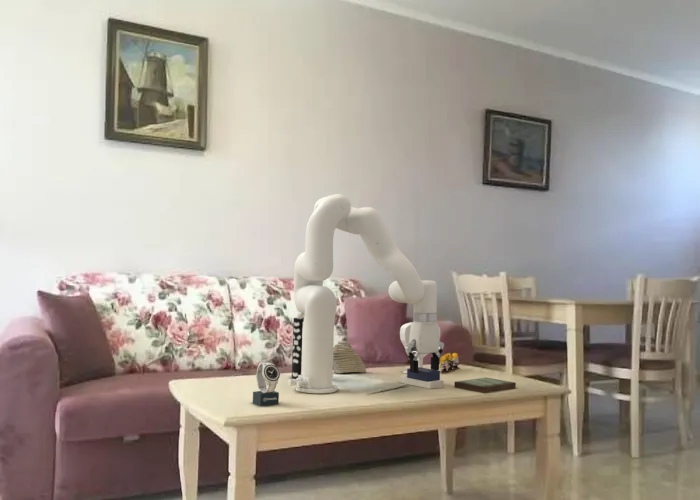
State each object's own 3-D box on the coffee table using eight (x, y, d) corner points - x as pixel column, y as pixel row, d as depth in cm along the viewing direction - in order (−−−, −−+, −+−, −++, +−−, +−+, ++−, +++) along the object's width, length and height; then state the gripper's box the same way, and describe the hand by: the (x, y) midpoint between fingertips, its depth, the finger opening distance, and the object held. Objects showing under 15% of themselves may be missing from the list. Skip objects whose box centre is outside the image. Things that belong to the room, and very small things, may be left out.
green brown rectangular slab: (484, 393, 207) (484, 386, 207) (454, 387, 217) (454, 380, 217) (515, 388, 218) (515, 381, 218) (486, 382, 227) (486, 376, 227)
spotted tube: (315, 380, 222) (317, 319, 223) (290, 379, 222) (292, 319, 223) (317, 376, 231) (319, 317, 231) (293, 375, 231) (294, 317, 231)
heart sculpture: (404, 373, 242) (406, 323, 243) (397, 371, 246) (398, 322, 247) (441, 371, 249) (442, 322, 250) (433, 369, 253) (434, 321, 254)
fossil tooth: (367, 376, 241) (328, 374, 235) (360, 373, 247) (322, 370, 241) (371, 344, 241) (332, 341, 235) (364, 342, 247) (326, 338, 241)
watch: (263, 407, 177) (265, 365, 178) (249, 402, 184) (250, 361, 184) (282, 405, 181) (283, 364, 181) (267, 400, 187) (269, 360, 188)
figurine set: (436, 372, 246) (436, 354, 246) (452, 367, 260) (452, 350, 261) (445, 373, 245) (445, 355, 245) (461, 368, 259) (461, 351, 259)
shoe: (443, 387, 216) (443, 371, 216) (430, 388, 212) (430, 372, 212) (412, 380, 227) (412, 365, 227) (399, 382, 223) (399, 367, 223)
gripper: (434, 316, 228) (434, 367, 228) (397, 318, 217) (397, 372, 216) (451, 317, 222) (451, 370, 222) (414, 320, 211) (414, 375, 211)
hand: (424, 371), depth 219 cm, fingers open, 9 cm apart
